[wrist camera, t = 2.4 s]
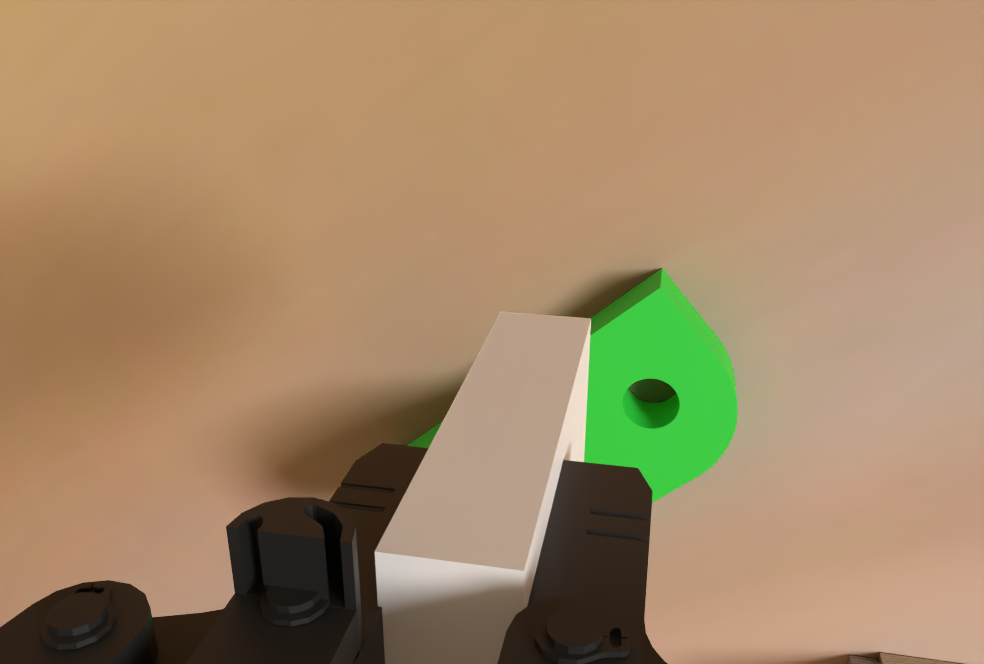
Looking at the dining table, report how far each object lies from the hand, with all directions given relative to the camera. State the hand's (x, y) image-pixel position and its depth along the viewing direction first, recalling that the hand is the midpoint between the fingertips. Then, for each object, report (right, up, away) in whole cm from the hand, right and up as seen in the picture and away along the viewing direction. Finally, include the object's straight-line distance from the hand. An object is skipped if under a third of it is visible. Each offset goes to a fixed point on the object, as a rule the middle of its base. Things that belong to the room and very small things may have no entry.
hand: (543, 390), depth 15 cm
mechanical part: (+2, -2, +17) cm, 17 cm away
